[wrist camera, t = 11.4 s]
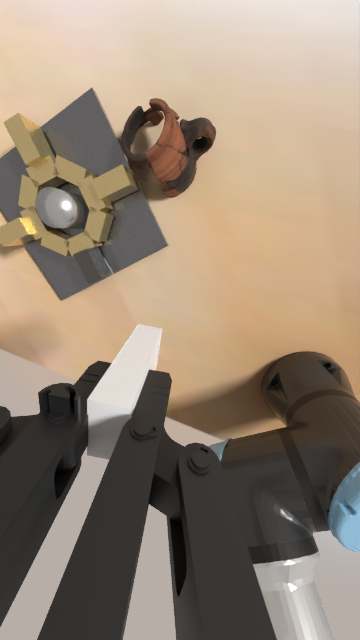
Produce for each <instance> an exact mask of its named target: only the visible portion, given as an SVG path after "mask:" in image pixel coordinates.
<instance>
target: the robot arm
mask: <svg viewBox="0 0 360 640" xmlns="http://www.w3.org/2000/svg"><path fill="white" fill-rule="evenodd" d="M161 334H162V328H156V327H151V326H145V325H139V324H138V325H137V326H136V328H135V329H134V331H133V332H132V334H131V335H130V337H129V338H128V340H127V341H126V343H125V344H124V346H123V347H122V349H121V350H120V352H119V353H118V355H117V356H116V358H115V359H114V361H113V362H112V363H108V362H102V361H97V362H96V363H94V364H92V365H90V366H89V367H88V369H87V370H86V371H85V372H84V374H83V375H82V376H81V377H80V378H79V380H78V381H77V382H76V383H75V384H74V385H72V384H69V383H59V384H53V385H51V386H48V387H46V388H44V389H42V390H41V391H40V392H39V393H38V395H39V404H40V413H39V414H37V415H31V416H18V417H11V415H10V411H9V410H8V409H7V408H6V407H1V406H0V626H1V625H2V622H3V621H4V619H5V616H6V615H7V613H8V611H9V609H10V607H11V605H12V603H13V601H14V599H15V597H16V595H17V593H18V591H19V589H20V587H21V585H22V583H23V581H24V579H25V577H26V575H27V573H28V571H29V569H30V567H31V565H32V563H33V561H34V559H35V557H36V555H37V553H38V551H39V549H40V547H41V545H42V543H43V541H44V539H45V537H46V535H47V533H48V531H49V529H50V527H51V525H52V523H53V522H54V519H55V517H56V516H57V514H58V512H59V510H60V507H61V506H62V504H63V502H64V500H65V498H66V496H67V494H68V492H69V490H70V488H71V486H72V484H73V482H74V480H75V478H76V476H77V474H78V472H79V470H80V466H81V457H82V454H83V453H84V451H85V449H86V447H87V455H90V456H95V457H100V458H105V459H110V460H109V463H108V465H107V467H106V470H105V472H104V475H103V477H102V480H101V483H100V485H99V487H98V490H97V492H96V495H95V497H94V500H93V502H92V505H91V508H90V510H89V512H88V515H87V518H86V520H85V522H84V525H83V527H82V530H81V532H80V535H79V537H78V540H77V542H76V544H75V547H74V550H73V552H72V555H71V557H70V560H69V562H68V564H67V567H66V569H65V572H64V574H63V577H62V579H61V582H60V584H59V587H58V589H57V592H56V594H55V597H54V599H53V602H52V604H51V607H50V609H49V612H48V614H47V617H46V619H45V622H44V624H43V627H42V629H41V632H40V634H39V636H38V639H37V640H123V635H124V630H125V625H126V620H127V614H128V609H129V603H130V599H131V594H132V588H133V583H134V578H135V573H136V567H137V563H138V557H139V552H140V546H141V542H142V536H143V532H144V526H145V521H146V516H147V511H148V505H149V504H150V505H151V506H153V507H155V508H156V509H158V510H159V511H160V512H162V513H163V514H165V515H166V516H167V525H168V539H169V551H170V564H171V577H172V589H173V602H174V615H175V628H176V640H335V639H334V636H333V633H332V630H331V627H330V624H329V622H328V619H327V616H326V613H325V610H324V607H323V604H322V601H321V598H320V595H319V592H318V589H317V586H316V583H315V579H314V572H315V569H316V566H317V562H318V559H319V556H320V553H319V551H318V548H317V545H316V543H315V540H314V537H313V532H320V531H328V530H331V532H332V534H333V536H335V537H336V538H337V540H338V541H339V542H340V543H341V544H342V545H343V546H344V547H346V548H347V549H349V550H352V551H355V552H358V551H360V402H359V401H358V400H357V399H356V398H355V395H354V392H353V390H352V387H351V384H350V382H349V379H348V377H347V375H346V373H345V372H344V370H343V369H342V368H341V367H340V366H339V365H338V364H337V363H336V362H335V361H334V360H333V359H331V358H330V357H328V356H326V355H324V354H321V353H316V352H299V353H294V354H291V355H288V356H286V357H283V358H282V359H280V360H278V361H277V362H276V363H274V364H273V365H272V366H271V367H270V368H269V370H268V371H267V372H266V374H265V376H264V379H263V383H262V391H263V395H264V398H265V400H266V403H267V405H268V406H269V408H270V409H271V411H272V412H273V413H274V414H275V415H276V416H277V417H278V418H279V419H280V420H281V421H282V422H283V423H284V424H285V425H286V426H287V427H285V428H280V429H275V430H271V431H267V432H263V433H258V434H254V435H249V436H245V437H240V438H236V439H231V438H229V439H227V440H226V441H224V442H220V443H217V444H213V445H211V446H209V447H208V446H206V445H204V444H200V443H192V444H188V445H187V446H185V447H184V446H182V445H180V444H178V443H176V442H175V441H173V440H172V439H171V438H170V437H169V436H168V435H167V433H166V431H165V428H164V421H165V416H166V411H167V406H168V400H169V394H170V389H171V383H172V379H171V377H170V374H169V373H165V372H160V371H156V367H157V362H158V355H159V348H160V341H161Z"/></svg>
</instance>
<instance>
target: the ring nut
mask: <svg viewBox="0 0 360 640" xmlns="http://www.w3.org/2000/svg"><path fill="white" fill-rule="evenodd" d="M4 124H5V126H6V128H7V130H8V132H9V134H10V136H11V138H12V140H13V141H14V143H15V145H16V147H17V149H18V151H19V153H20V155H21V157H22V159H23V161H24V162H25V164H26V165H28V166H30V167H28V168H26V171H27V172H28V174H29V176H30V177H29V176H26V175H23V174H22V179H21V187H20V194H19V202H18V205H19V206H21V207H23V208H25V210H23V211H21V212H20V214H21V215H22V217H23V218H17V219H15V220H13V221H11V222H9V223H7V224H5V225H3V226H1V227H0V242H1V244H2V246H16V245H24V244H26V243H28V242H30V241H32V240H34V239H35V240H41V245H42V246H44V247H46V248H49V249H51V250H53V251H55V252H58V253H60V254H62V255H64V256H74V258H75V260H76V261H77V263H78V265H79V267H80V269H81V271H82V273H83V275H84V277H85V279H86V280H87V282H88V284H91V283H93V282H96V281H98V280H101V279H103V278H105V277H107V276H109V275H111V273H110V271H109V268H108V266H107V264H106V262H105V260H104V258H103V256H102V254H101V252H100V250H99V248H98V247H100V246H103V245H102V242H105V241H107V238H108V234H109V231H110V227H111V224H112V220H113V217H114V215H112V214H110V213H108V211H110V210H112V209H113V207H112V204H111V203H112V202H114V201H116V200H118V199H120V198H122V197H124V196H126V195H128V194H130V193H132V192H135V191H137V190H138V187H137V185H136V182H135V180H134V177H133V175H132V172H131V171H130V170H129V169H127V168H126V167H125V166H124V165H123V164H122V165H120V166H118V167H116V168H114V169H112V170H110V171H108V172H106V173H104V174H102V175H100V176H99V177H95V176H96V174H94V173H92V172H91V171H89V170H87V169H85V168H83V167H81V166H79V165H77V164H75V163H73V162H70V161H68V160H66V159H64V158H62V157H60V156H58V155H57V156H56V158H55V157H54V155H53V153H52V150H51V148H50V146H49V144H48V142H47V140H46V138H45V136H44V134H43V132H42V130H41V128H40V127H39V126H38V125H36V124H35V123H33V122H32V121H30V120H29V119H27V118H25V117H24V116H22V115H21V114H19V113H18V114H16V115H14V116H13V117H11V118H10V119H8V120H7V121H5V122H4ZM67 181H68V182H70V183H72V184H74V185H77V186H78V187H79V189H80V191H81V193H82V195H83V197H84V199H85V201H86V204H87V206H88V208H89V214H88V218H87V223H86V227H85V231H84V232H83V233H81V234H78V235H76V236H74V237H71V236H68V235H66V234H64V233H62V232H60V231H58V229H57V228H53V227H50V226H48V225H46V224H45V223H44V222H43V221H42V220H41V219H40V217H39V215H38V213H37V211H36V206H35V201H36V196H37V194H38V193H39V191H40V190H42V189H43V188H46V187H54V188H56V187H58V186H59V185H61V184H63V183H65V182H67Z"/></svg>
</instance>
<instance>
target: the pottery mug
mask: <svg viewBox="0 0 360 640" xmlns="http://www.w3.org/2000/svg"><path fill="white" fill-rule="evenodd" d="M149 104H150V106H151V108H149V109H148V110H147V111H145V112H144V111H143V109H142V107H141V106H138V107H137V108H136V109H135V110H134V111H133V112H132V114H131V115H130V116H129V118H128V120H127V122H126V124H125V127H124V130H123V133H122V140H121V146H122V150H123V153H124V154H125V156H126V157H127V161H128V165H129V167H130V170H133V169H134V171H135V172H136V174H137V175H138V176H139V178H140V179H141V180H142V181H145V182H147V181H148V178H147V173H148V169H149V167H150V165H151V166H152V170H153V172H154V175H155V178H156V180H158V181H159V182H161V183H163V182H167V184H169V185H170V186H172V187H170V188H167V189H163V194H165V195H167V196H169V197H174V196H177V195H179V194H181V193H182V192H184V191H185V190H186V189H187V188H188V187H189V186H190V184H191V183H192V181H193V180H194V177H195V174H196V161H197V160H198V159H199V157H200V156H201V155H203V154H204V153H205V152H207V151H208V150H209V149H210V148H211V146H212V145H213V142H214V140H215V136H216V135H215V134H216V129H215V127H214V126H213V125H212V123H211V122H210V121H209V120H208V119H206V118H197V119H194V120H191V121H187V120H184V119H182V120H181V121H180V124H179V122H178V121H177V120H178V119H179V116H178V114H177V113H176V112H175V111H173V110H172V109H171V108H169V107H168V105H167V103H166V102H165V101H163V100H161V99H158V98H154V99H151V100H150V102H149ZM160 111H162V112H163V113H164V115H165V123H164V128H163V131H162V133H161V136H160V138H159V139H158V141H157V143H156V144H155V145H154V146H153V147H152V148H151V149H150V150H148V151H147V152H146V153H144V154H140V155H135V154H132V153H131V151H130V149H131V144H132V142H133V139H134V137H135V134H136V132H137V131H138V129H139V128H140V127H141V126H143V125H144V124H145V123H147V122H148V121H150V122H151V123H153V124H155V125H157V124H158V123H160V122H161V121H162V120H163V118H164V116H163V113H162V112H160ZM199 137H201V138H199ZM197 138H199V139H197ZM186 148H187V152H188V156H186V155H185V154H184V152H185V151H186ZM132 165H133V167H132Z"/></svg>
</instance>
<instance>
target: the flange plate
mask: <svg viewBox="0 0 360 640" xmlns="http://www.w3.org/2000/svg"><path fill="white" fill-rule="evenodd" d="M40 128H41V130H42V132H43V134H44V136H45V138H46V140H47V142H48V144H49V146H50V148H51V150H52V153H53V155H54V157H55V158H56V156H57V155H58V156H60V157H62V158H64V159H66V160H68V161H70V162H73V163H75V164H77V165H79V166H81V167H83V168H85V169H87V170H89V171H91V172H92V173H94V174H96V176H95V177H99V176H100V175H102V174H104V173H106V172H108V171H110V170H112V169H114V168H116V167H118V166H120V165H122V164H123V165H124V166H125V167H126V168H127V169H129V170H130V167H129V165H128V161H127V157H126V156H125V154H124V153H123V150H122V147H121V145H120V143H119V141H118V139H117V136H116V134H115V132H114V130H113V128H112V126H111V124H110V122H109V120H108V118H107V115H106V113H105V111H104V109H103V107H102V105H101V103H100V101H99V99H98V97H97V95H96V92H95V91H94V90H93V88H91V89H89V90H88V91H87V92H86V93H84V94H83V95H82V96H80V97H79V98H78V99H77V100H75V101H74V102H73V103H71V104H70V105H69V106H68V107H66V108H65V109H64V110H62V111H61V112H60V113H58V114H57V115H56V116H55V117H53V118H52V119H51V120H49V121H48V122H47V123H46V124H44V125H43V126H42V127H40ZM28 167H30V166H28V165H26V164H25V162H24V161H23V159H22V157H21V155H20V153H19V151H18V149H17V147H15V148H13V149H12V150H11V151H9V152H8V153H7V154H6V155H4V156H3V157H2V158H0V209H1V211H2V212H3V214H4V215H5V217H6V218H7V220H8V221H9V222H11V221H13V220H15V219H17V218H23V217H22V215H21V214H20V212H21V211H23V210H25V208H23V207H21V206H19V205H18V202H19V194H20V187H21V179H22V174H23V175H26V176H29V174H28V172H27V171H26V168H28ZM130 171H131V172H132V175H133V177H134V180H135V182H136V185H137V187H138V190H137V191H135V192H132V193H130V194H128V195H126V196H124V197H122V198H120V199H118V200H116V201H114V202H112V203H111V204H112V207H113V209H112V210H110V211H108V213H110V214H112V215H114V217H113V220H112V224H111V227H110V231H109V234H108V238H107V241H105V242H102V245H103V246H100V247H98V248H99V250H100V252H101V254H102V256H103V258H104V260H105V262H106V264H107V266H108V268H109V271H110V273H111V275H112V274H114V273H116V272H118V271H120V270H122V269H124V268H126V267H128V266H129V265H131V264H133V263H135V262H137V261H139V260H141V259H143V258H145V257H147V256H149V255H151V254H153V253H155V252H157V251H158V250H160V249H162V248H164V247H166V246H168V243H167V241H166V239H165V237H164V235H163V233H162V231H161V229H160V227H159V225H158V222H157V220H156V218H155V216H154V214H153V212H152V210H151V208H150V206H149V204H148V202H147V199H146V197H145V195H144V193H143V191H142V189H141V187H140V185H139V183H138V181H137V178H136V176H135V174H134V172H133V170H130ZM29 177H30V176H29ZM35 206H36V211H37V213H38V215H39V217H40V219H41V220H42V221H43V222H44V223H45V224H46V225H48V226H50V227H53V228H57V229H58V231H60V232H62V233H64V234H66V235H68V236H71V237H74V236H76V235H78V234H81V233H83V232H84V231H85V227H86V223H87V218H88V214H89V208H88V206H87V204H86V201H85V199H84V197H83V195H82V193H81V191H80V189H79V187H78V186H77V185H74V184H72V183H70V182H68V181H67V182H65V183H63V184H61V185H59V186H58V187H56V188H54V187H46V188H43V189H42V190H40V191H39V193H38V194H37V196H36V201H35ZM24 245H25V246H26V248H27V249H28V251H29V252H30V254H31V255H32V256H33V258H34V259H35V261H36V262H37V264H38V265H39V267H40V268H41V270H42V271H43V273H44V274H45V276H46V277H47V279H48V280H49V282H50V283H51V285H52V286H53V287H54V289H55V290H56V292H57V293H58V295H59V296H60V298H61V299H62V300H64V299H66V298H68V297H70V296H71V295H73V294H75V293H77V292H79V291H81V290H83V289H85V288H87V287H89V286H91V285H93V284H95V283H97V282H99V281H100V280H98V281H96V282H93V283H91V284H88V282H87V280H86V279H85V277H84V275H83V273H82V271H81V269H80V267H79V265H78V263H77V261H76V260H75V258H74V256H64V255H62V254H60V253H58V252H55V251H53V250H51V249H49V248H46V247H44V246H42V245H41V240H35V239H34V240H32V241H30V242H28V243H26V244H24ZM109 276H110V275H109ZM107 277H108V276H107ZM105 278H106V277H105ZM103 279H104V278H103ZM101 280H102V279H101Z"/></svg>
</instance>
